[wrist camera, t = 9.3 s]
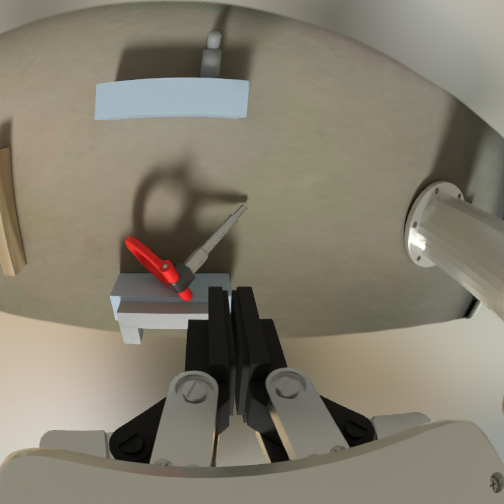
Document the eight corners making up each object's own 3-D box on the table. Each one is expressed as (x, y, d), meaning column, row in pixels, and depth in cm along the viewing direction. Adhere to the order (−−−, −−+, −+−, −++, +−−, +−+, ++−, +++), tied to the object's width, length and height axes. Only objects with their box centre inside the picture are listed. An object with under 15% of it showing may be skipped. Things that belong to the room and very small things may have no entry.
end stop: (10, 146, 19) (-6, 150, 16) (26, 263, 25) (15, 275, 22) (-1, 149, 18) (-17, 153, 16) (16, 263, 24) (4, 275, 22)
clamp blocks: (245, 50, 20) (258, 29, 15) (226, 306, 32) (233, 343, 26) (117, 51, 18) (95, 34, 13) (125, 306, 30) (115, 342, 24)
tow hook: (111, 232, 23) (160, 270, 19) (186, 162, 27) (244, 182, 24) (142, 271, 28) (190, 307, 25) (203, 207, 32) (254, 230, 29)
